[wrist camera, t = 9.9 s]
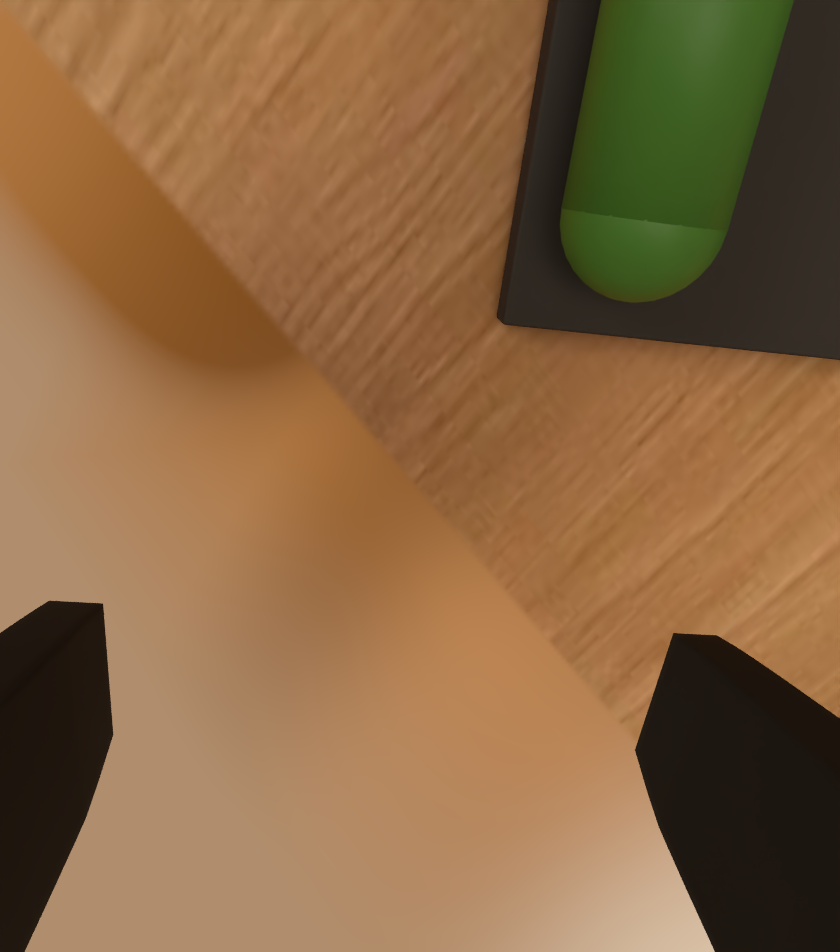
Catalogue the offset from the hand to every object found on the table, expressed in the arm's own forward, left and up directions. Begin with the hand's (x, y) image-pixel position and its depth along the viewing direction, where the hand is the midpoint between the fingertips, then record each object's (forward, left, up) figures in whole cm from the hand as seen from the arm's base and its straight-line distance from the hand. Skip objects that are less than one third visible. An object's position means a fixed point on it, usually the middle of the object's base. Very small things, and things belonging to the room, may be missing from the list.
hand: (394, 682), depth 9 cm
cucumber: (+5, +9, -7) cm, 12 cm away
